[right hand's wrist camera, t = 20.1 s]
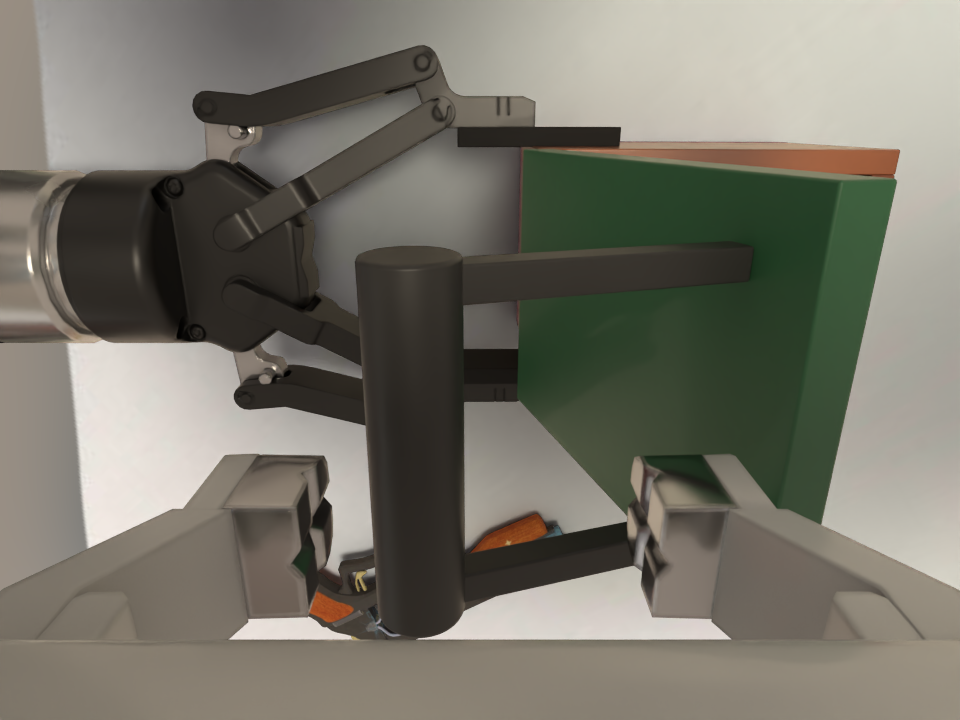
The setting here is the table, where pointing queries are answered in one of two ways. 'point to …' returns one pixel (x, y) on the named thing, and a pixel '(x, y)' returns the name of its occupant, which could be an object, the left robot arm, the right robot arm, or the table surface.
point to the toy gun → (355, 606)
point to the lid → (617, 353)
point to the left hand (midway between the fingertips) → (604, 258)
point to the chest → (750, 158)
